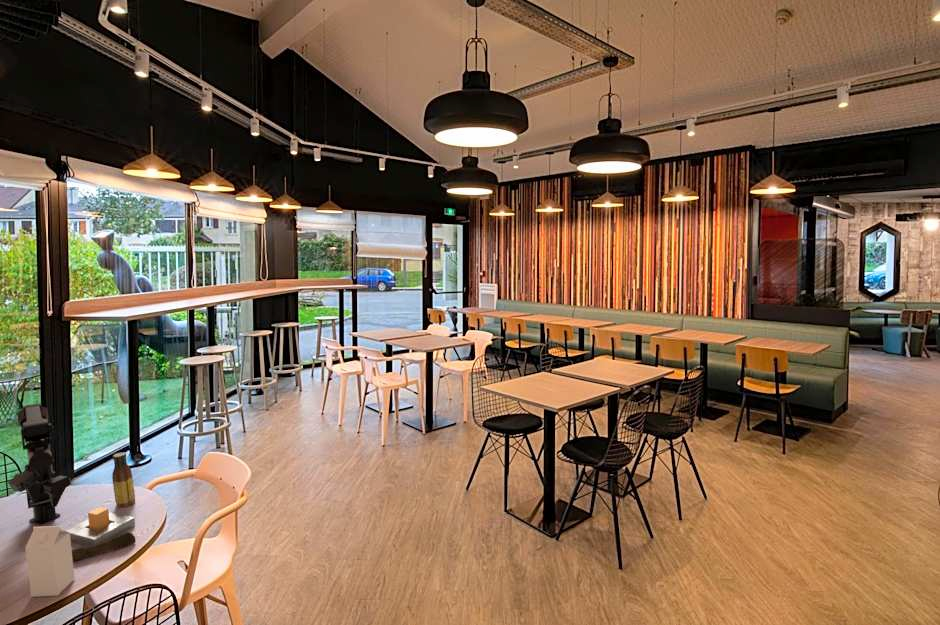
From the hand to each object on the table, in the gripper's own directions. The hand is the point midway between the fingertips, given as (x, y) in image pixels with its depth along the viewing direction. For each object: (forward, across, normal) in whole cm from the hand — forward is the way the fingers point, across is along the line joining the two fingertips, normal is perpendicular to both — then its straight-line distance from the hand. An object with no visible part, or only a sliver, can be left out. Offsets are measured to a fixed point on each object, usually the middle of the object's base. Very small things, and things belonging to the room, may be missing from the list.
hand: (44, 504), depth 172 cm
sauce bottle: (+12, +3, +25) cm, 28 cm away
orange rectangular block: (+12, +13, +8) cm, 19 cm away
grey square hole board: (+12, +13, +8) cm, 19 cm away
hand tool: (+12, +24, 0) cm, 27 cm away
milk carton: (+12, +28, -17) cm, 35 cm away
